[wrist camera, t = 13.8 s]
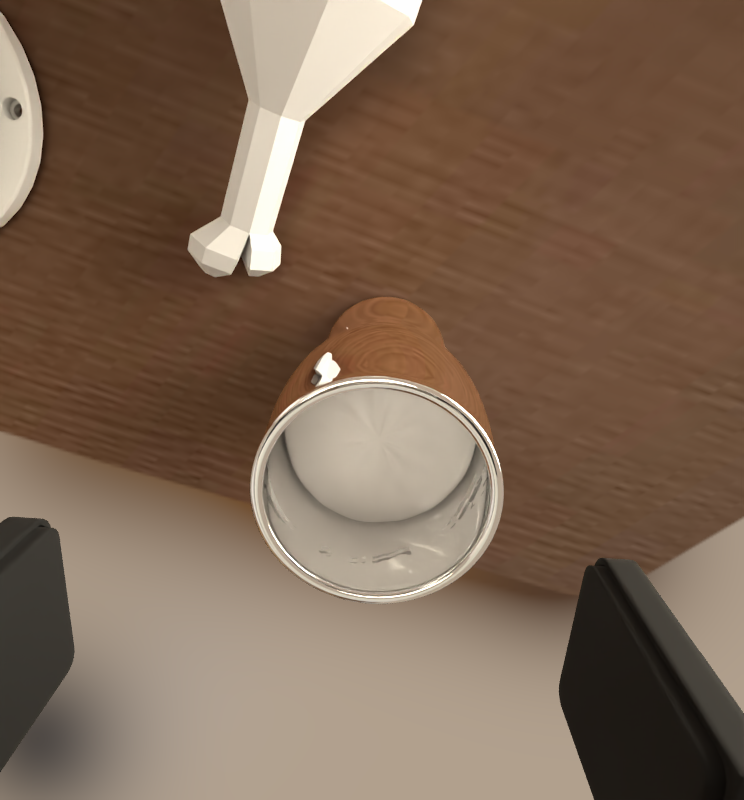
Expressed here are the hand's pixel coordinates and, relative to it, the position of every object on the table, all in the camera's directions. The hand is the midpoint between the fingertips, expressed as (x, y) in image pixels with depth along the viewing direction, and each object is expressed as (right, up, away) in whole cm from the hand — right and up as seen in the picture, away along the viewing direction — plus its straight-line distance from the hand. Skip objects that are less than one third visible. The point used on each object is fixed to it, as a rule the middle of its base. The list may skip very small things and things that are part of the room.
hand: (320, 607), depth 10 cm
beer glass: (+2, +6, +19) cm, 20 cm away
